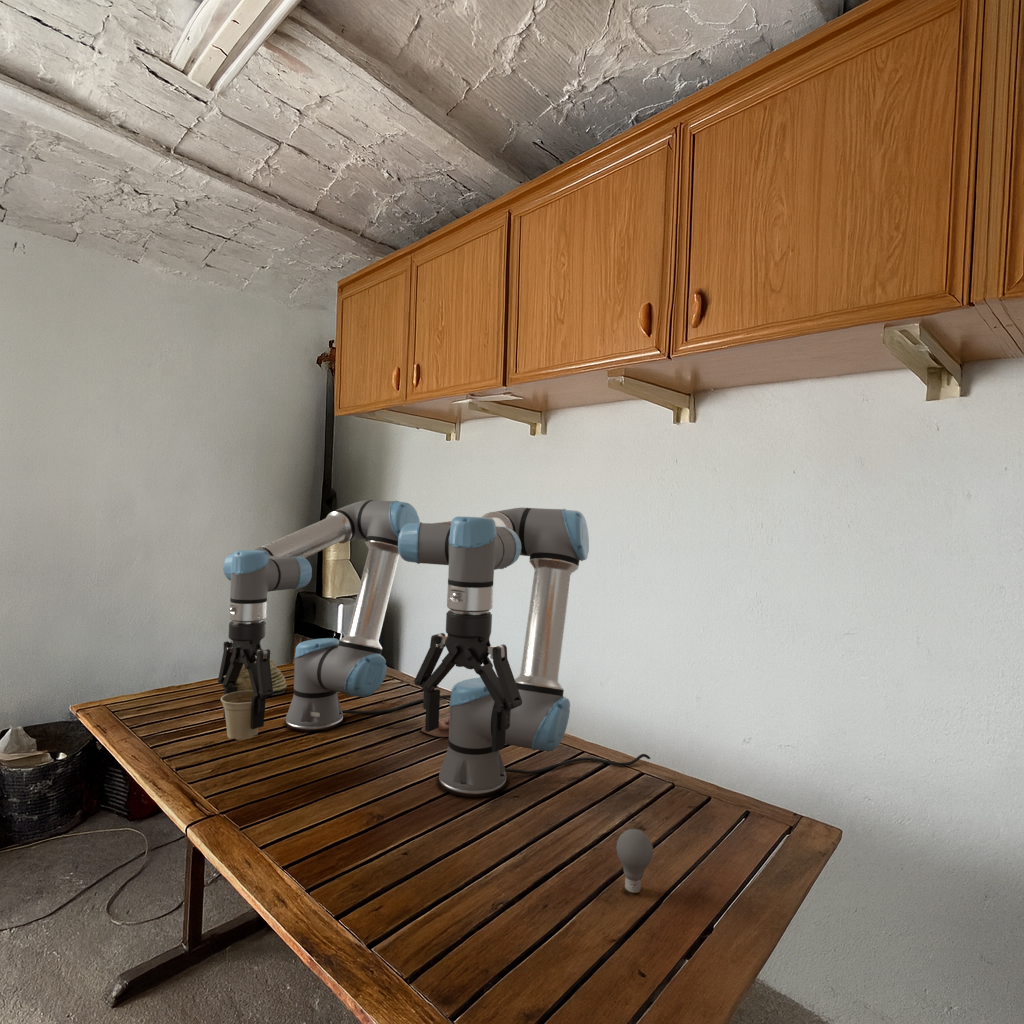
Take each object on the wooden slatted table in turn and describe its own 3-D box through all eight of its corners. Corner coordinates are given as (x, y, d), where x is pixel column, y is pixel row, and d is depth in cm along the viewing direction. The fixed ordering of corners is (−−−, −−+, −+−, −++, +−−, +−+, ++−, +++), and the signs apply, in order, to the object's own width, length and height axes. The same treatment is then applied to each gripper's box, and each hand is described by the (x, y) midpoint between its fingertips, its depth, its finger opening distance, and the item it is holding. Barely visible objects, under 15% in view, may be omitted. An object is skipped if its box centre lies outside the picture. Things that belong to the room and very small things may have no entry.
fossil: (218, 695, 195) (220, 647, 195) (278, 685, 208) (279, 640, 207) (228, 703, 189) (230, 653, 188) (289, 692, 201) (290, 645, 201)
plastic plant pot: (210, 736, 138) (211, 696, 138) (248, 724, 146) (250, 687, 146) (235, 746, 133) (236, 706, 133) (274, 734, 141) (275, 696, 141)
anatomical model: (417, 719, 171) (431, 706, 182) (417, 734, 171) (430, 720, 182) (465, 725, 168) (476, 711, 179) (464, 740, 168) (475, 725, 179)
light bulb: (610, 879, 108) (613, 822, 108) (644, 879, 109) (647, 822, 109) (619, 902, 102) (622, 840, 102) (655, 901, 103) (658, 840, 103)
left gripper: (203, 615, 142) (199, 714, 143) (263, 630, 130) (258, 739, 130) (234, 612, 149) (229, 707, 149) (294, 625, 136) (289, 729, 137)
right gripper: (396, 603, 107) (391, 727, 108) (522, 624, 94) (516, 765, 95) (425, 598, 114) (420, 716, 114) (546, 617, 101) (540, 750, 101)
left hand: (243, 721), depth 140 cm, fingers closed on plastic plant pot, 9 cm apart
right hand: (463, 738), depth 104 cm, fingers open, 13 cm apart
